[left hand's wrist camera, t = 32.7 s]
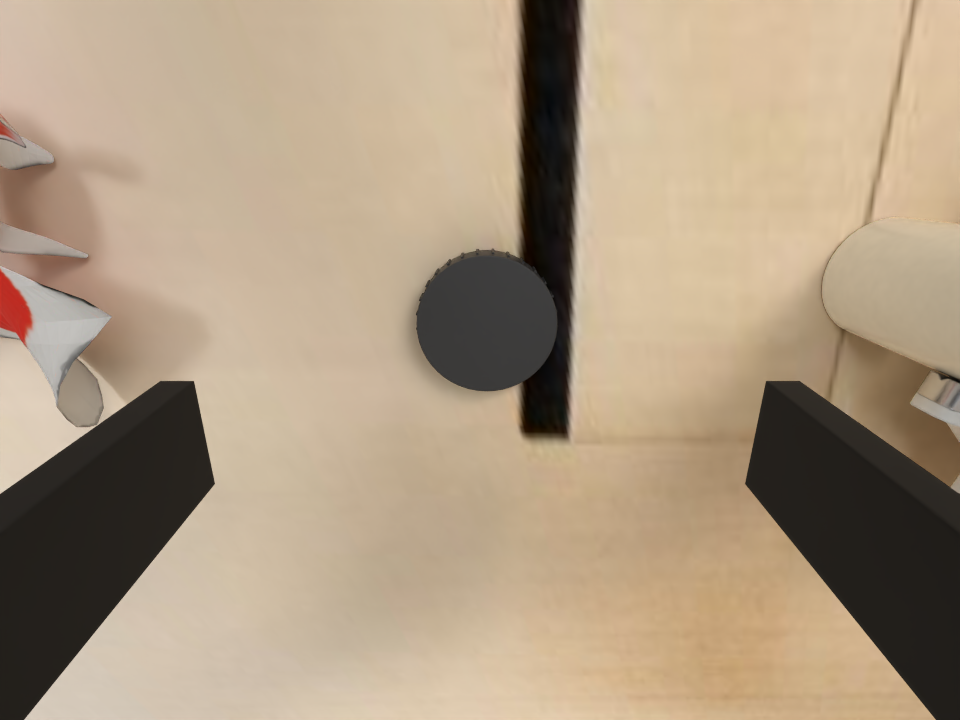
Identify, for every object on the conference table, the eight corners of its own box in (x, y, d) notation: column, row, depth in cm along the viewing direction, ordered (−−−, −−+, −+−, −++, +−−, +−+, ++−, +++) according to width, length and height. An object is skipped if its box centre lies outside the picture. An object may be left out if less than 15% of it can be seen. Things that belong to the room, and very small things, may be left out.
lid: (582, 306, 26) (589, 316, 24) (496, 404, 27) (496, 418, 26) (476, 218, 24) (475, 222, 23) (392, 326, 26) (386, 336, 24)
